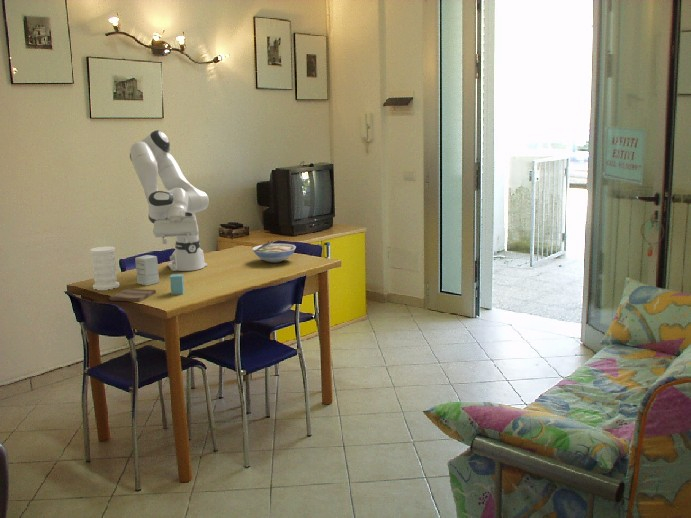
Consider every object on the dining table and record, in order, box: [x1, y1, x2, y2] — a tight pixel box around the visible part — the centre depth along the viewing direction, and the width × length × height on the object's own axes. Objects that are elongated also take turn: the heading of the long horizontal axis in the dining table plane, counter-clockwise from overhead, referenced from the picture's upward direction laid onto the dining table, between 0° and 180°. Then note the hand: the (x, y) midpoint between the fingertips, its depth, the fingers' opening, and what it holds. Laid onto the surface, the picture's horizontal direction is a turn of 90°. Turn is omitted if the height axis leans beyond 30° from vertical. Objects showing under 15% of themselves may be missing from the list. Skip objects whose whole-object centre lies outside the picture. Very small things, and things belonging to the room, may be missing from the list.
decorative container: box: [89, 245, 120, 291], centre depth 318 cm, size 12×12×18 cm
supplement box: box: [134, 254, 160, 286], centre depth 324 cm, size 7×7×13 cm
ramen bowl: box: [252, 240, 297, 264], centre depth 365 cm, size 25×23×8 cm
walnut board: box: [109, 288, 157, 302], centre depth 302 cm, size 14×14×2 cm
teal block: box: [169, 273, 185, 296], centre depth 306 cm, size 5×5×8 cm
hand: (174, 242), depth 315 cm, fingers open, 8 cm apart
